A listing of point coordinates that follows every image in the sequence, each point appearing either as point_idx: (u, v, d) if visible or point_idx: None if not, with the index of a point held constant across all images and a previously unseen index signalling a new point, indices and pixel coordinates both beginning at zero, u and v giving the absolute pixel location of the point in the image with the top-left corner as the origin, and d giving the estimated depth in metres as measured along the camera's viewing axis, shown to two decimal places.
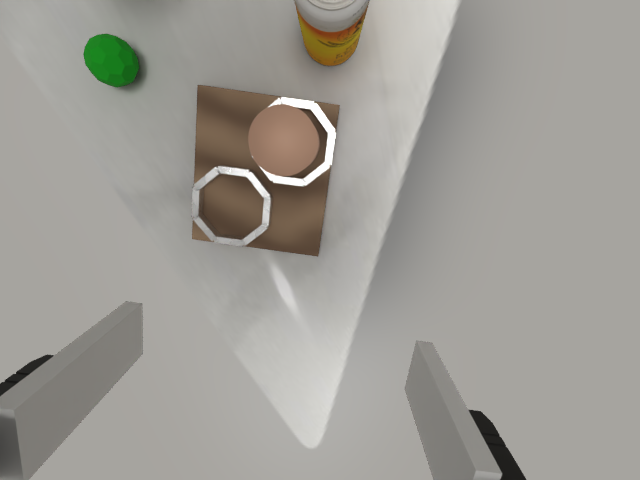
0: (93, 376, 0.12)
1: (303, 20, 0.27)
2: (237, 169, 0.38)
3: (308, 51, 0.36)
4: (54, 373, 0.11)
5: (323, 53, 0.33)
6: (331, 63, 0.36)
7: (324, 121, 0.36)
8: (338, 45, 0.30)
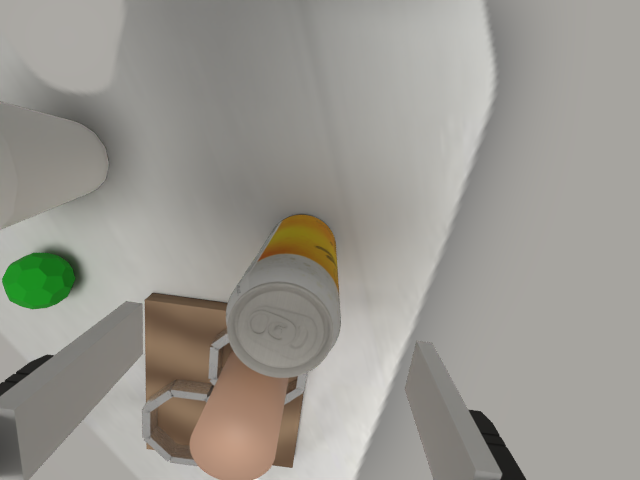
0: (93, 376, 0.12)
1: None
2: (193, 393, 0.32)
3: None
4: (54, 373, 0.11)
5: None
6: None
7: None
8: None
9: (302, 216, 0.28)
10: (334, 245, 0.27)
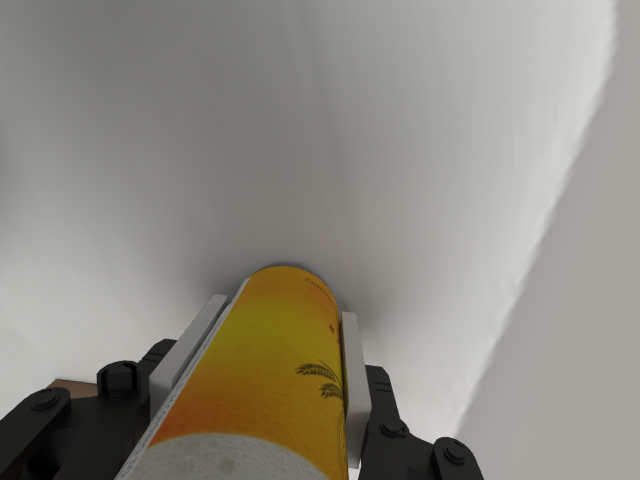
0: None
1: None
2: None
3: None
4: (187, 352, 0.12)
5: None
6: None
7: None
8: None
9: (283, 271, 0.17)
10: (336, 325, 0.16)
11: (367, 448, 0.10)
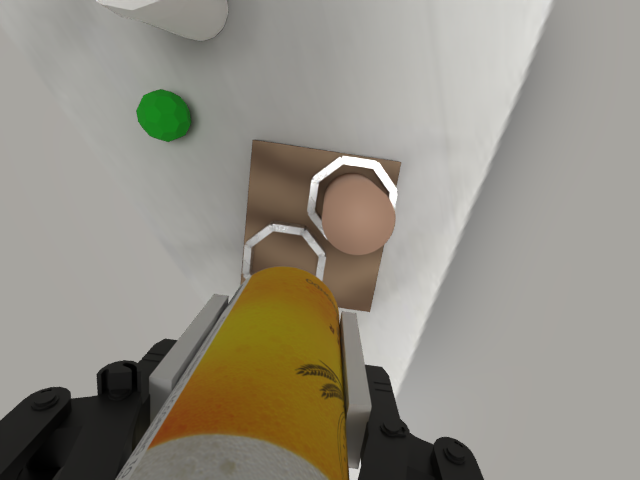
0: None
1: None
2: (292, 227, 0.36)
3: None
4: (187, 352, 0.12)
5: None
6: None
7: (386, 181, 0.35)
8: None
9: (283, 271, 0.17)
10: (337, 325, 0.16)
11: (367, 448, 0.10)
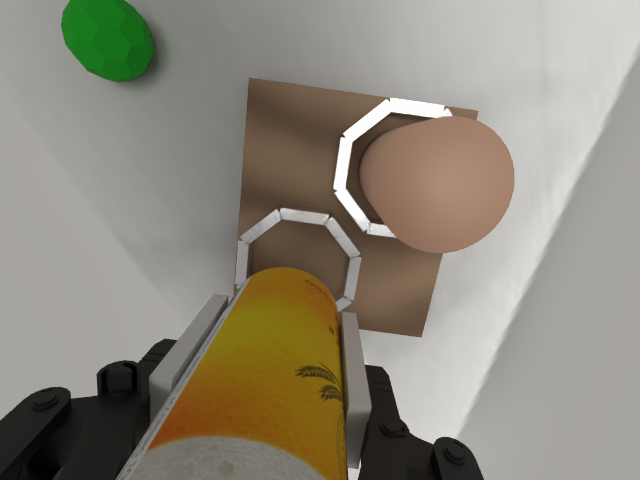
0: None
1: None
2: (310, 213, 0.24)
3: None
4: (187, 352, 0.12)
5: None
6: None
7: None
8: None
9: (283, 272, 0.17)
10: (336, 326, 0.16)
11: (367, 448, 0.10)
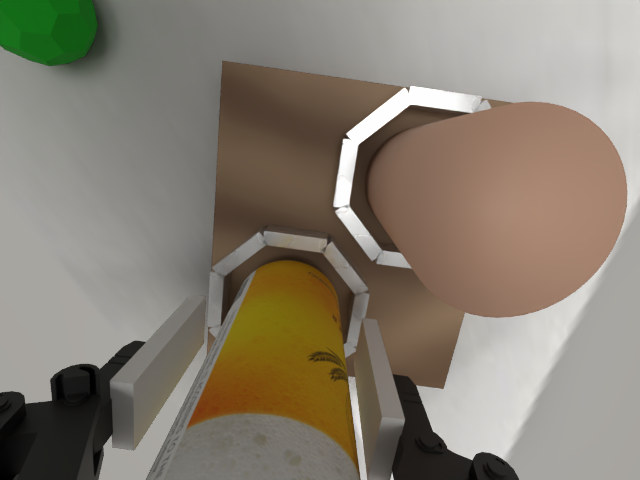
0: (175, 360, 0.14)
1: None
2: (303, 238, 0.18)
3: None
4: (154, 355, 0.12)
5: None
6: None
7: None
8: None
9: (287, 265, 0.18)
10: (338, 314, 0.17)
11: (402, 461, 0.09)
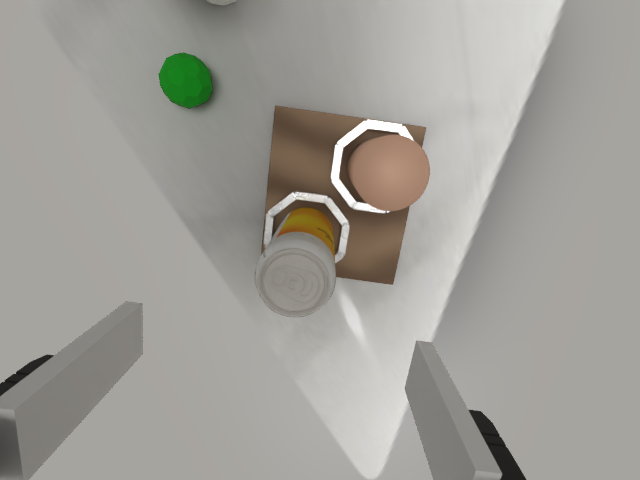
0: (93, 376, 0.12)
1: None
2: (315, 195, 0.36)
3: None
4: (54, 373, 0.11)
5: None
6: None
7: None
8: None
9: (306, 208, 0.36)
10: (332, 230, 0.34)
11: None
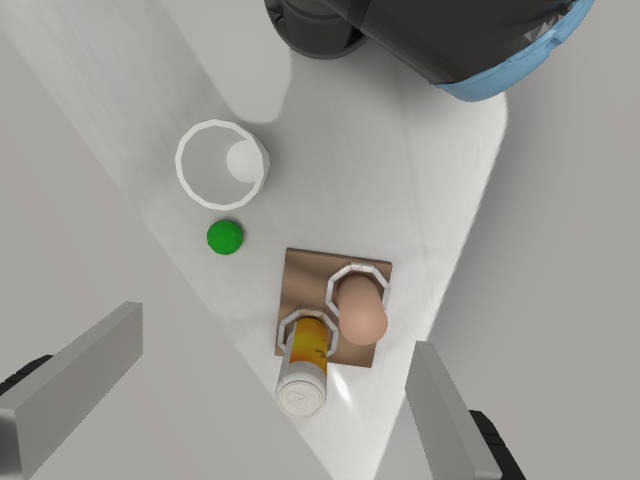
0: (93, 376, 0.12)
1: None
2: (314, 311, 0.50)
3: None
4: (54, 373, 0.11)
5: None
6: None
7: (382, 280, 0.49)
8: None
9: (308, 320, 0.51)
10: (326, 339, 0.49)
11: None
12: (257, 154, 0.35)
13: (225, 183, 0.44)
